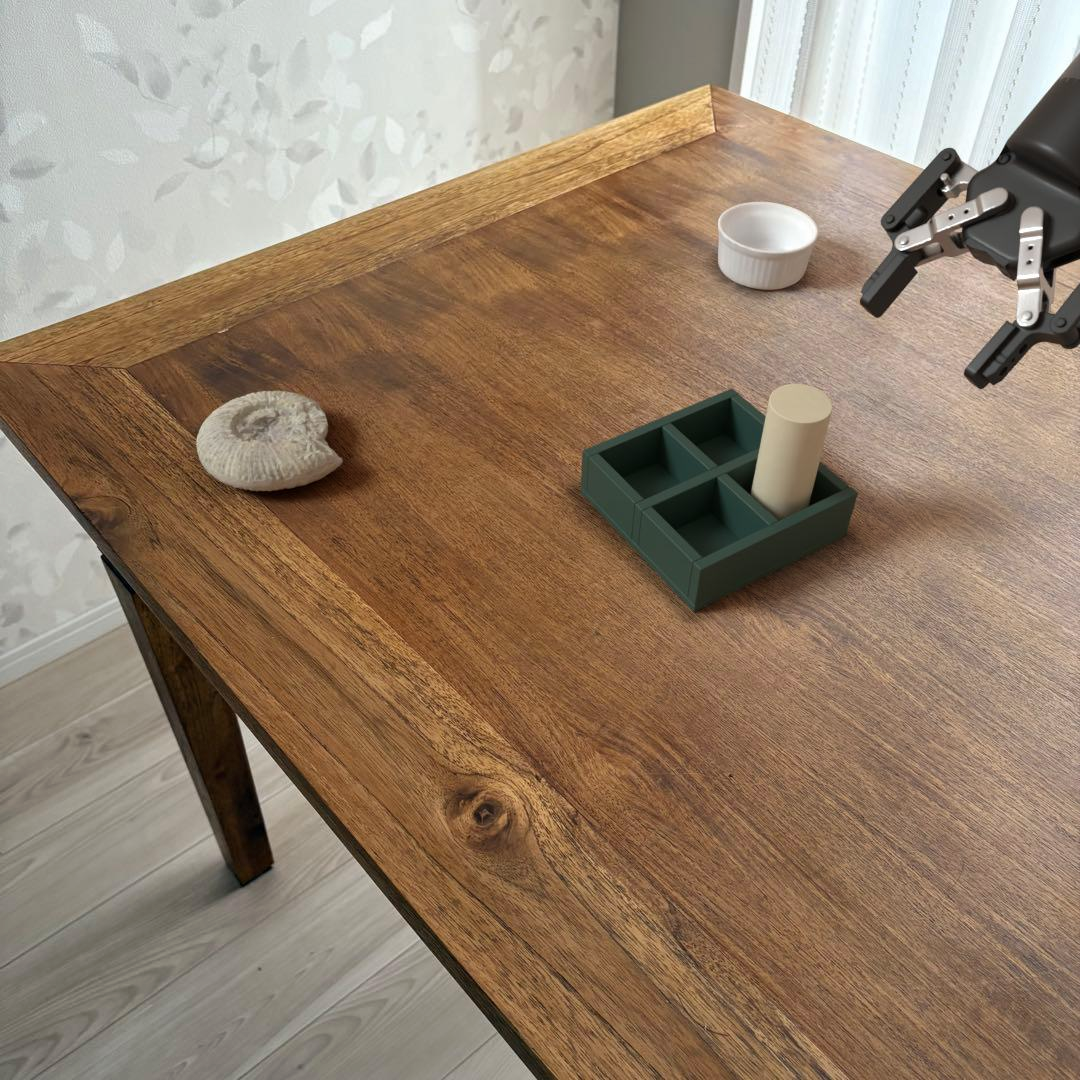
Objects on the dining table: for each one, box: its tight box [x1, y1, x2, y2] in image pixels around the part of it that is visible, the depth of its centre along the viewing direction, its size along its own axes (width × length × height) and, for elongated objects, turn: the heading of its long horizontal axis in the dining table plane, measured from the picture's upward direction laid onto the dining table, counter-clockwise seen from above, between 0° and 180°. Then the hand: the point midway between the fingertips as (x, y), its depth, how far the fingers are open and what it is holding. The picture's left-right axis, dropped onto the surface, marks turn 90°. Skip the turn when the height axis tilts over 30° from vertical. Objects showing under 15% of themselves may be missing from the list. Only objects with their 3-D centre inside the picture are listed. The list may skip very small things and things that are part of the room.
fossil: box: [195, 390, 344, 492], centre depth 82 cm, size 11×4×10 cm
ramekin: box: [717, 201, 820, 291], centre depth 100 cm, size 9×9×4 cm
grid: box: [580, 388, 859, 613], centre depth 77 cm, size 13×13×4 cm
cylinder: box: [751, 383, 834, 521], centre depth 74 cm, size 4×4×10 cm
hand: (918, 345), depth 67 cm, fingers open, 8 cm apart
